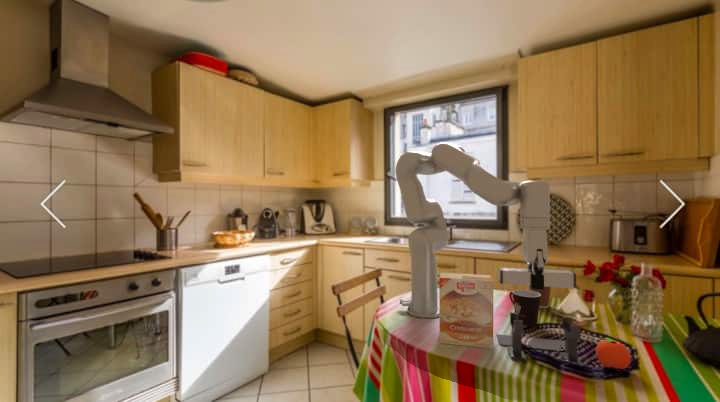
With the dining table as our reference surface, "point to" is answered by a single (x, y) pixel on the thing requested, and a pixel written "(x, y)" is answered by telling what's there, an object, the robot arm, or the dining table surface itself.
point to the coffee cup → (543, 296)
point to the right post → (570, 340)
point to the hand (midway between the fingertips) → (535, 286)
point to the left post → (516, 338)
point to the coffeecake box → (466, 309)
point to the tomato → (613, 354)
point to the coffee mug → (526, 305)
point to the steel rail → (524, 277)
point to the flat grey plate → (534, 343)
